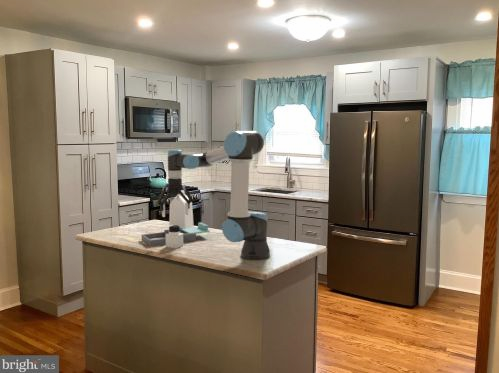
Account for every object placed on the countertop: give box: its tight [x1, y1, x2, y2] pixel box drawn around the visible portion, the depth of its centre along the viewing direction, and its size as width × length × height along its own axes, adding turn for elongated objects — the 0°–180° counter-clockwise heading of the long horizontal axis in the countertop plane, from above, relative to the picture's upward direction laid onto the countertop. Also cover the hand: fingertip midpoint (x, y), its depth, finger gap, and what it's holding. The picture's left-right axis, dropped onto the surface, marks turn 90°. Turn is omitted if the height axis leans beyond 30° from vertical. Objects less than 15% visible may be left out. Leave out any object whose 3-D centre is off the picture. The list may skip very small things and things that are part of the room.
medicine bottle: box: [165, 225, 184, 249], centre depth 253 cm, size 7×7×12 cm
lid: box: [182, 221, 210, 235], centre depth 275 cm, size 12×13×4 cm
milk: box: [168, 189, 194, 228], centre depth 291 cm, size 12×12×26 cm
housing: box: [140, 228, 197, 248], centre depth 267 cm, size 16×28×5 cm, turn 121°
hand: (175, 215), depth 253 cm, fingers open, 13 cm apart
